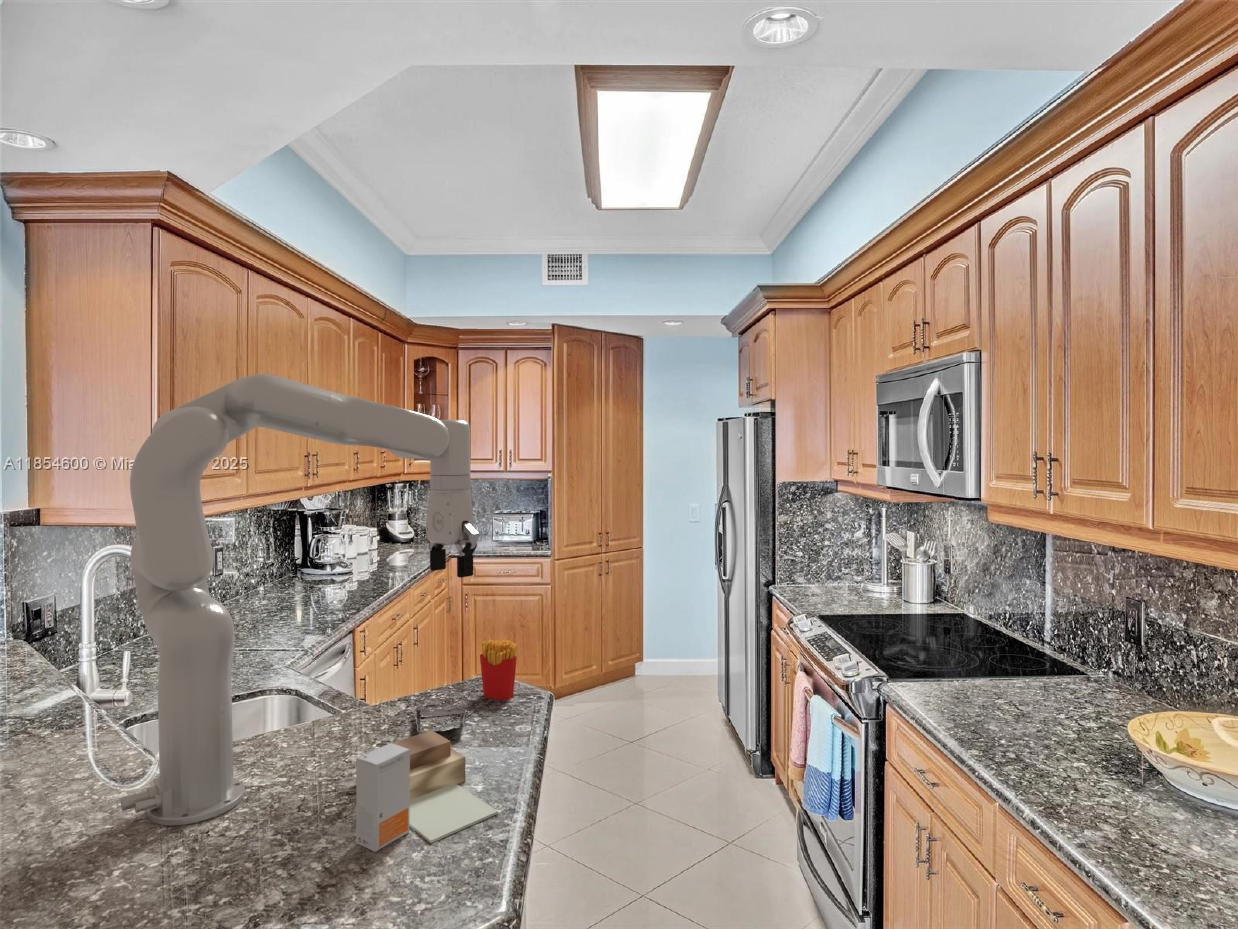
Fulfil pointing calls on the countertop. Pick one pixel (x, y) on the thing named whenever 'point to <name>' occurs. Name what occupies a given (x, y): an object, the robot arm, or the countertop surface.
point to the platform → (437, 775)
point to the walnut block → (426, 748)
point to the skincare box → (382, 796)
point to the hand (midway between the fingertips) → (451, 573)
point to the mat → (446, 812)
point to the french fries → (498, 669)
